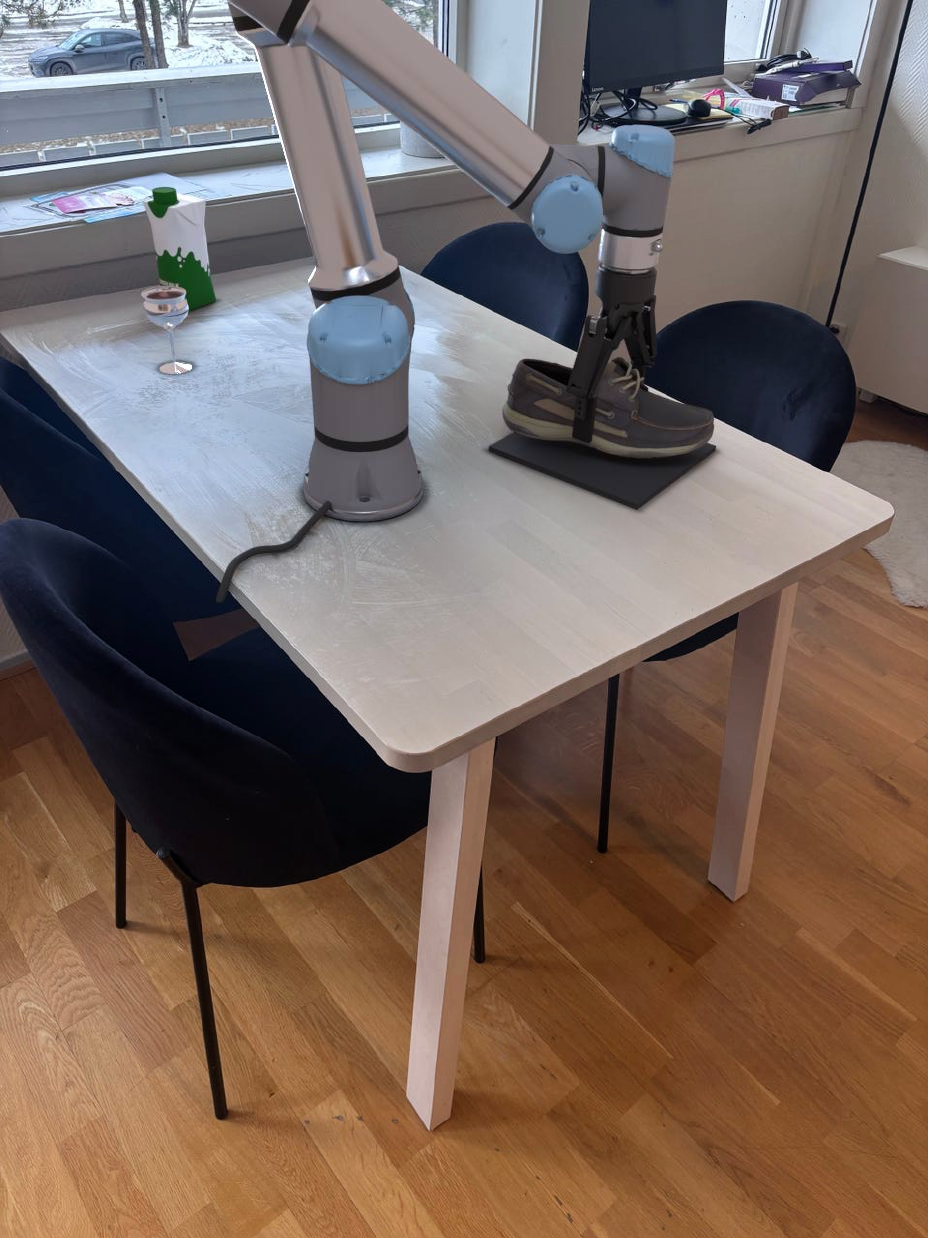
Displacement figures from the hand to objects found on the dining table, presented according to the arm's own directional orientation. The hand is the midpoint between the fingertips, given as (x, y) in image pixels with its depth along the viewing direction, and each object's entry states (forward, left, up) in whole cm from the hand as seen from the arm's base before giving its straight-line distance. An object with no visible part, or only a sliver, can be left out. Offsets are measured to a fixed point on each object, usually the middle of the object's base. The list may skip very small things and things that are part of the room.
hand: (606, 424), depth 132 cm
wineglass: (-22, +67, -4) cm, 71 cm away
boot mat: (0, 0, -4) cm, 4 cm away
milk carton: (-1, +90, -4) cm, 90 cm away
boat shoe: (-1, 0, -2) cm, 2 cm away
